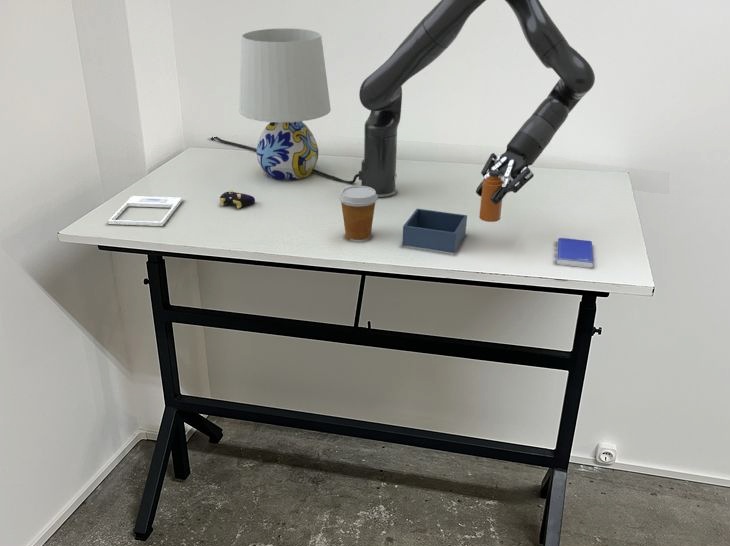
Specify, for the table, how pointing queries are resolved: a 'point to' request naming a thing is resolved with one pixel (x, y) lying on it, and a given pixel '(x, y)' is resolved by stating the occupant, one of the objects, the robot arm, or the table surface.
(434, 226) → the tote
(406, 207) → the table surface
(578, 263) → the blue book
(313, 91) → the table lamp
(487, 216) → the bottle
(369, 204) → the disposable coffee cup
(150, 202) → the photo frame
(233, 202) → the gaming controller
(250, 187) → the table surface
